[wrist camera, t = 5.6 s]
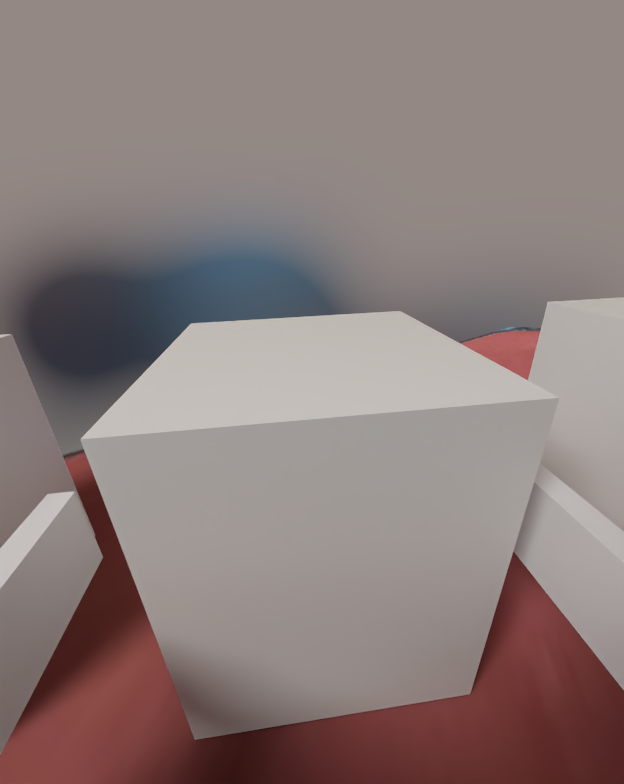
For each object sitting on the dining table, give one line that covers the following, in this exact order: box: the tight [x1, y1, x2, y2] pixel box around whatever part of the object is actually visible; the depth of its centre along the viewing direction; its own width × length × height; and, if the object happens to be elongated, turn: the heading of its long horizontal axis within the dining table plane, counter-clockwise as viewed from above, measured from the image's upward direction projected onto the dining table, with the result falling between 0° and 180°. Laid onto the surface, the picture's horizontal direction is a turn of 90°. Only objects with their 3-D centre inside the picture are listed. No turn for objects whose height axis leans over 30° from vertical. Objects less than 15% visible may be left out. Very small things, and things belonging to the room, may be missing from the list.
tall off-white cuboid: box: [80, 311, 559, 740], centre depth 13 cm, size 9×9×11 cm
